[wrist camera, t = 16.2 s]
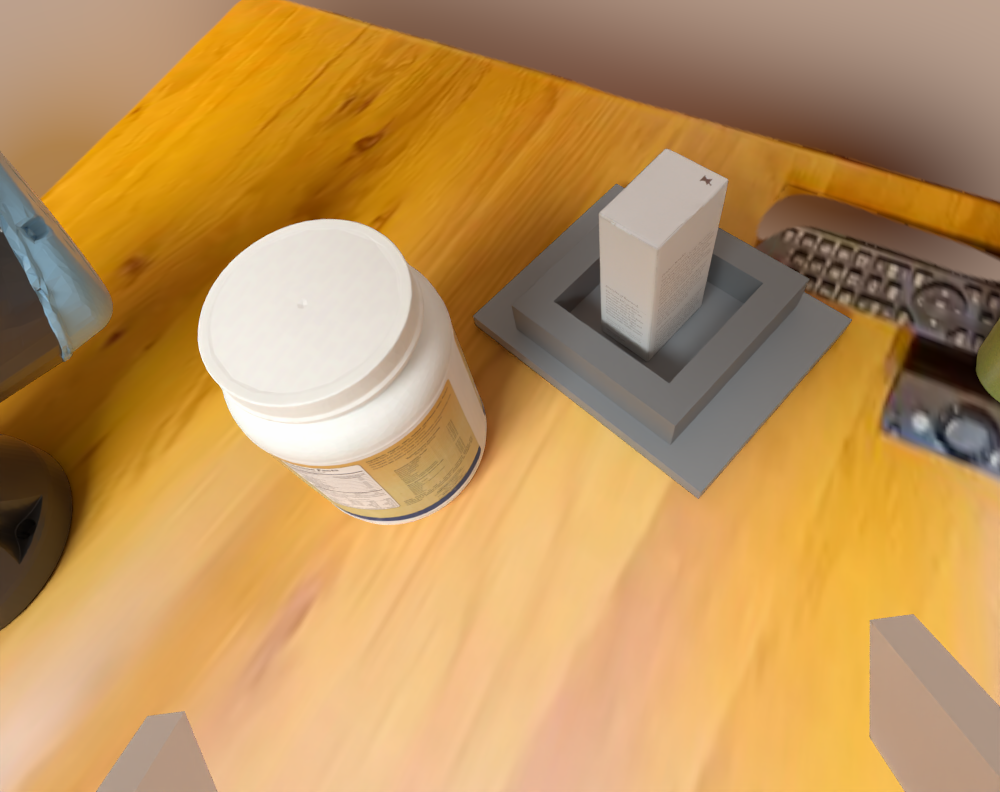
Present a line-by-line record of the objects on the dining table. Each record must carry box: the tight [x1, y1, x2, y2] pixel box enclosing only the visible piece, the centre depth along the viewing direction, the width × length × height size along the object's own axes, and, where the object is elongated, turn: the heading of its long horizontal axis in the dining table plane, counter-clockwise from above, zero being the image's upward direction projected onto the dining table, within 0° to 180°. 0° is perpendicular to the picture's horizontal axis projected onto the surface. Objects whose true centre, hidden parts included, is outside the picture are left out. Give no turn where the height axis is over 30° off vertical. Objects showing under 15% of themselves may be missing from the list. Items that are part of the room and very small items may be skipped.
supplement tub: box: [198, 219, 487, 525], centre depth 37 cm, size 12×12×17 cm
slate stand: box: [473, 184, 852, 499], centre depth 44 cm, size 20×16×4 cm
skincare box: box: [599, 149, 728, 361], centre depth 39 cm, size 6×4×12 cm
